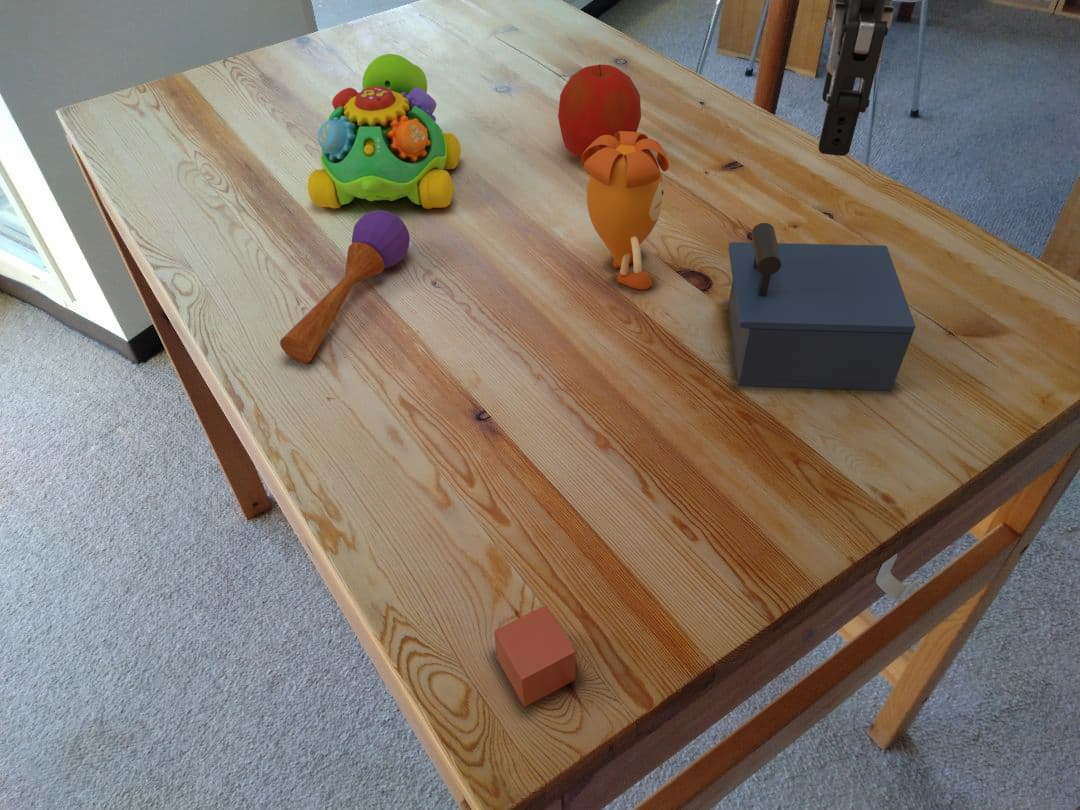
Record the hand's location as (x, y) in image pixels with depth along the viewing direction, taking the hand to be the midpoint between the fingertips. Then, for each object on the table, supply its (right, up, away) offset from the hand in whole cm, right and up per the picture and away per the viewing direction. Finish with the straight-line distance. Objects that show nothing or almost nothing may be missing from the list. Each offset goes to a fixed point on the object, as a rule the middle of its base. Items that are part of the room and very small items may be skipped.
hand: (834, 125), depth 66 cm
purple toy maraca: (-42, -11, +21) cm, 49 cm away
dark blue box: (+2, -16, +15) cm, 22 cm away
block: (-23, -40, -8) cm, 47 cm away
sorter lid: (+2, -11, +10) cm, 15 cm away
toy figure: (-15, -8, +23) cm, 29 cm away
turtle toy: (-41, +7, +38) cm, 57 cm away
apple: (-16, +10, +41) cm, 45 cm away
